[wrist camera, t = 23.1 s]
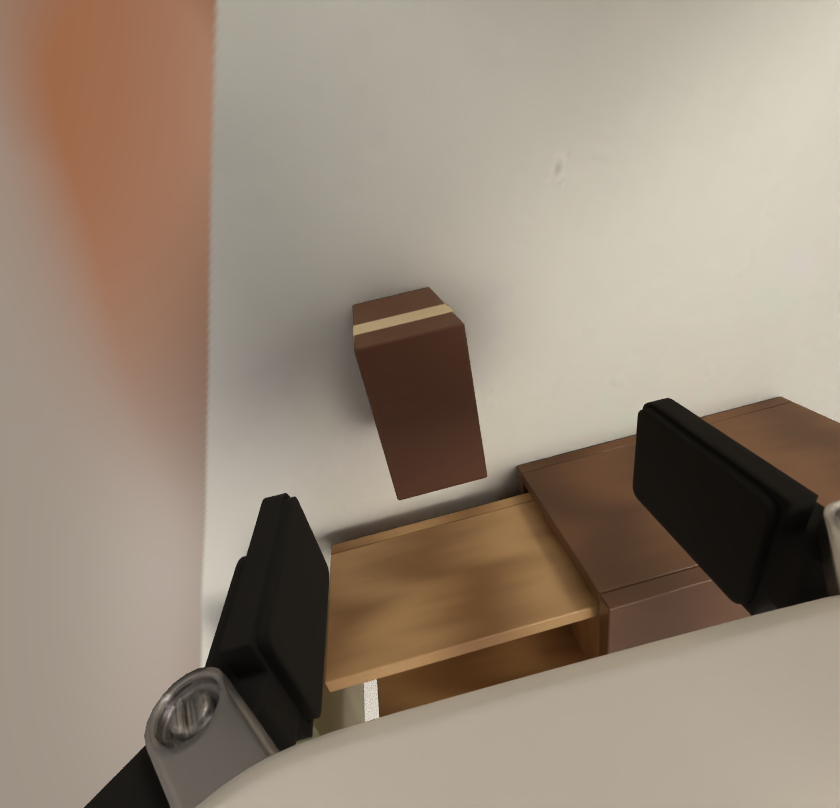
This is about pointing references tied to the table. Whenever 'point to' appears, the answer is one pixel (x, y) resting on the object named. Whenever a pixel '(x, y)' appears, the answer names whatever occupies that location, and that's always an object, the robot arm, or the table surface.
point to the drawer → (451, 610)
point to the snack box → (420, 391)
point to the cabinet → (647, 539)
